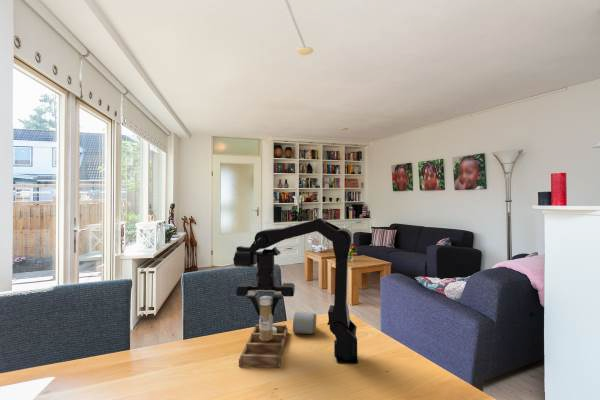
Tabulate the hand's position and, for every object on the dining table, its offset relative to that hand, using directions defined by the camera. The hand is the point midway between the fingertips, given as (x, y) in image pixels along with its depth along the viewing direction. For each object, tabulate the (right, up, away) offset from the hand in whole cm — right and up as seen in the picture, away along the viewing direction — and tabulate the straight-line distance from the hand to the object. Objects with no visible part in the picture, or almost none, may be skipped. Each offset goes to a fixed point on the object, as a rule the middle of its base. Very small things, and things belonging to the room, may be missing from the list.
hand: (266, 315), depth 98 cm
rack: (0, -11, 0) cm, 11 cm away
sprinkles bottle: (0, -8, 0) cm, 8 cm away
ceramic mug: (+13, -11, +13) cm, 21 cm away
